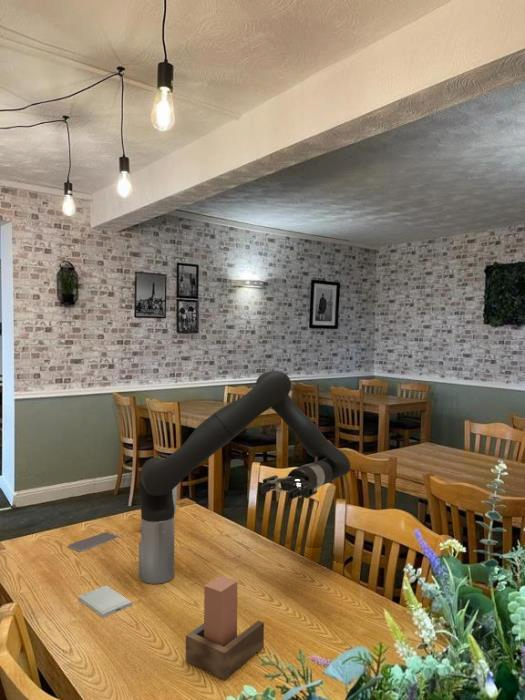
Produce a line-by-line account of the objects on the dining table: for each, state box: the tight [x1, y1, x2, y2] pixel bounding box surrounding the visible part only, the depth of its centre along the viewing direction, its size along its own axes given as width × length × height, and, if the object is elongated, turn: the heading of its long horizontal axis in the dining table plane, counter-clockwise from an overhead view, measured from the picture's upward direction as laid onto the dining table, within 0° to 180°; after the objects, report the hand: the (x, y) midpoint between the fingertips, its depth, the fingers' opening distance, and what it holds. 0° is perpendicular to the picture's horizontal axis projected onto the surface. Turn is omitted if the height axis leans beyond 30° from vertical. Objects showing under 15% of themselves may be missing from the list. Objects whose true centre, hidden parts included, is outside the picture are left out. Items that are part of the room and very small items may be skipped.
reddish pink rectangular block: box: [203, 575, 238, 647], centre depth 110 cm, size 4×6×16 cm
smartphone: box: [67, 531, 119, 553], centre depth 171 cm, size 7×1×15 cm
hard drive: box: [78, 585, 133, 619], centre depth 132 cm, size 2×8×12 cm
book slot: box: [185, 620, 265, 681], centre depth 111 cm, size 10×14×6 cm
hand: (274, 492), depth 133 cm, fingers open, 8 cm apart
